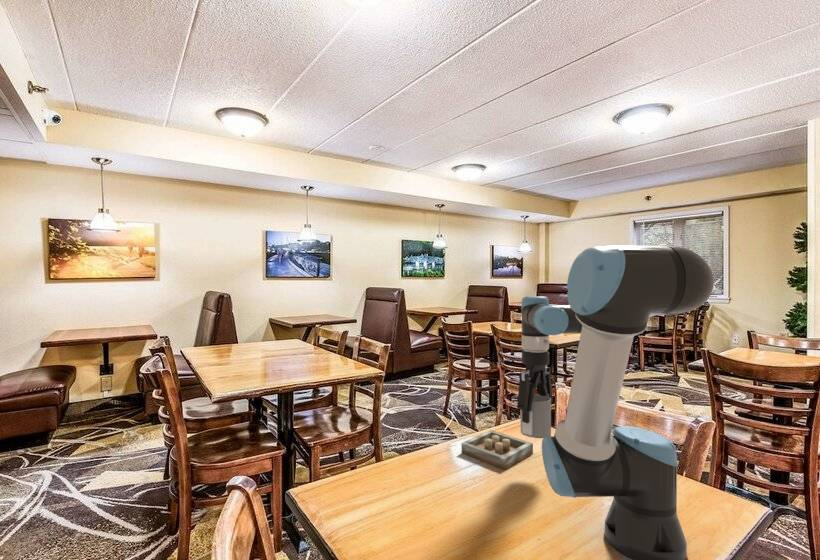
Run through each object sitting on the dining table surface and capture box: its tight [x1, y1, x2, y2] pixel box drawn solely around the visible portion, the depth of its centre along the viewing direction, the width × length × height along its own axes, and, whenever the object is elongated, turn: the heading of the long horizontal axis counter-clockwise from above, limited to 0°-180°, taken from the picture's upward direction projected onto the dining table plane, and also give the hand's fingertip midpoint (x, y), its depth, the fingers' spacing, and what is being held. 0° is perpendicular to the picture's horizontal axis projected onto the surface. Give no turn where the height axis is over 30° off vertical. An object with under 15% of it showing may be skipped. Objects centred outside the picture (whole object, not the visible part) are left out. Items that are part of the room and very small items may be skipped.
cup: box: [520, 393, 552, 439], centre depth 119 cm, size 8×8×10 cm
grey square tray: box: [461, 429, 534, 471], centre depth 132 cm, size 16×16×4 cm
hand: (535, 429), depth 119 cm, fingers closed on cup, 8 cm apart
